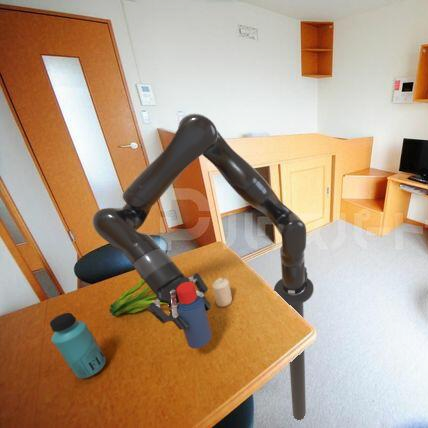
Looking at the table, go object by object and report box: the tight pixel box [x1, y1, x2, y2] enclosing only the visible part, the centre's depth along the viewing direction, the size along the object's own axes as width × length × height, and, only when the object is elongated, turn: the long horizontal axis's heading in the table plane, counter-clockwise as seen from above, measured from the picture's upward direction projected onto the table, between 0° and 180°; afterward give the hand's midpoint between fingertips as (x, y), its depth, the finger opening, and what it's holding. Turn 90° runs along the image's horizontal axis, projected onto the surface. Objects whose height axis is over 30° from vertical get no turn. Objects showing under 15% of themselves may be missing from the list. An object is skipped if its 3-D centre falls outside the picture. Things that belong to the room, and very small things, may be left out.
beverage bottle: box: [49, 312, 107, 379], centre depth 61 cm, size 6×7×20 cm
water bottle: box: [177, 296, 213, 349], centre depth 64 cm, size 6×6×18 cm
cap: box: [176, 282, 197, 304], centre depth 60 cm, size 4×4×4 cm
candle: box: [211, 277, 233, 308], centre depth 87 cm, size 6×6×10 cm
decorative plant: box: [108, 255, 210, 317], centre depth 86 cm, size 18×30×15 cm, turn 94°
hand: (198, 318), depth 63 cm, fingers closed on water bottle, 6 cm apart
